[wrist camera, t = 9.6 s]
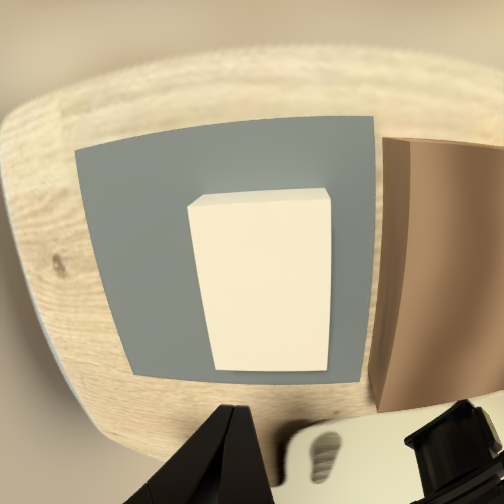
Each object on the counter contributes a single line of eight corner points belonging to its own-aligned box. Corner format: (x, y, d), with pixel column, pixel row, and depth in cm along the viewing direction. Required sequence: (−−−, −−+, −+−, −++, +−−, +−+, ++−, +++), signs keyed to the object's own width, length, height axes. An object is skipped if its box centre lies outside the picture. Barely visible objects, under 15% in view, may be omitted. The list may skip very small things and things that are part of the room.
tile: (187, 206, 14) (202, 194, 16) (215, 369, 17) (224, 342, 19) (330, 199, 13) (325, 187, 15) (326, 370, 16) (324, 342, 18)
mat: (371, 116, 14) (373, 116, 13) (358, 378, 19) (359, 381, 19) (77, 150, 16) (74, 150, 16) (135, 371, 22) (133, 374, 22)
